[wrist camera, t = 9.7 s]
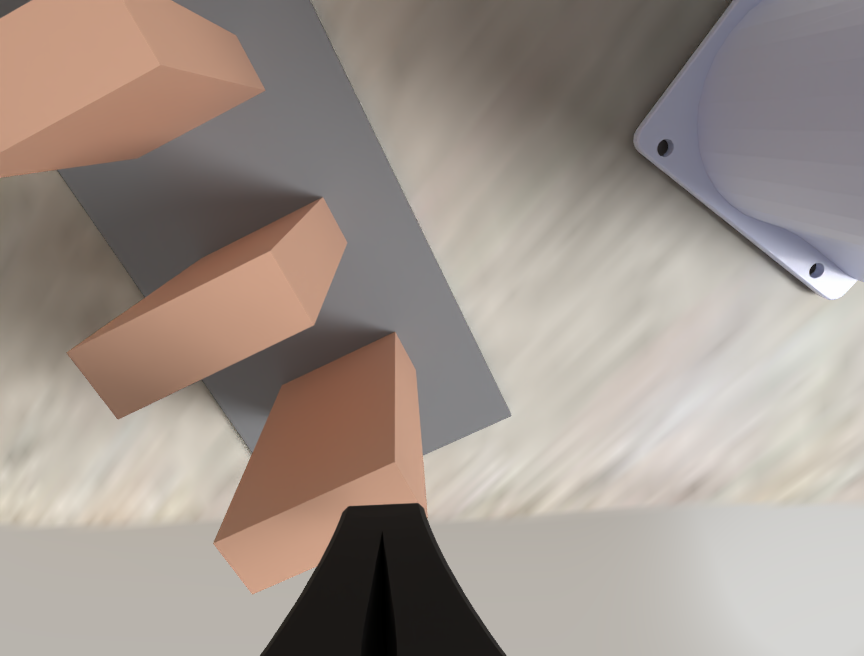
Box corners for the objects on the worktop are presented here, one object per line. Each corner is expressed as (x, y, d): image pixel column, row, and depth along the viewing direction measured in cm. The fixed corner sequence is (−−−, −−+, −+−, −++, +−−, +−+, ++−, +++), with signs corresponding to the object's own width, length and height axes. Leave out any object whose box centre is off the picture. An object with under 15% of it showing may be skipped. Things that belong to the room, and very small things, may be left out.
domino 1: (265, 90, 17) (161, 64, 9) (137, 158, 17) (-62, 186, 10) (236, 35, 16) (99, -39, 9) (104, 106, 17) (-133, 94, 9)
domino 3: (415, 370, 20) (427, 517, 13) (305, 421, 21) (252, 594, 13) (395, 331, 20) (394, 462, 12) (281, 385, 20) (213, 543, 13)
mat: (509, 411, 21) (511, 416, 21) (295, 508, 22) (293, 513, 22) (-6, -649, 12) (-16, -667, 12) (-338, -414, 13) (-355, -427, 13)
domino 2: (347, 242, 19) (314, 324, 11) (228, 301, 19) (117, 419, 11) (322, 197, 18) (270, 250, 10) (200, 258, 18) (66, 352, 11)
